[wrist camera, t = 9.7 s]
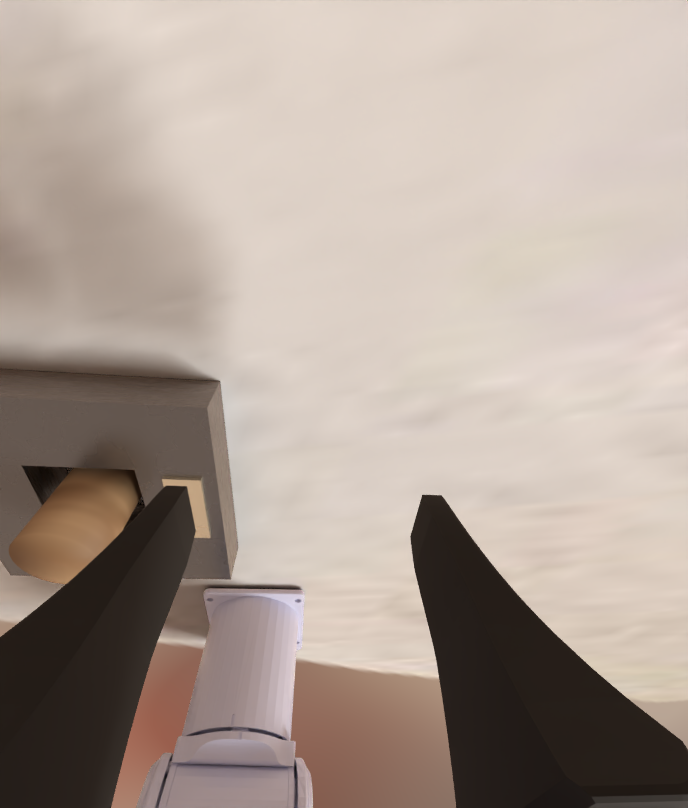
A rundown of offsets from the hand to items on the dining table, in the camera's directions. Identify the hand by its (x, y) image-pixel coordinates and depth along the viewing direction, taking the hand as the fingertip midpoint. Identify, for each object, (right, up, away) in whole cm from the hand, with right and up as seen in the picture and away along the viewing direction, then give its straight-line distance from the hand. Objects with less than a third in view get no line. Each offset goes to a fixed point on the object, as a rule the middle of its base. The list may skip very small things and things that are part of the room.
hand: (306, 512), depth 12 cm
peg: (-13, -1, +11) cm, 17 cm away
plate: (-13, -1, +11) cm, 17 cm away
